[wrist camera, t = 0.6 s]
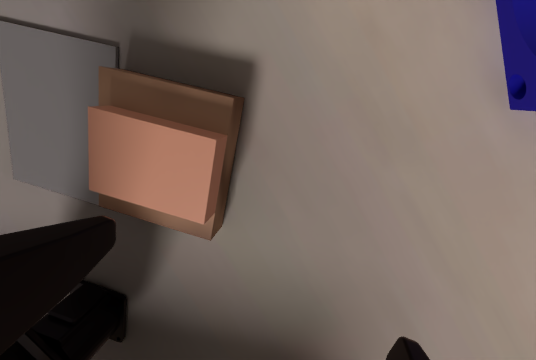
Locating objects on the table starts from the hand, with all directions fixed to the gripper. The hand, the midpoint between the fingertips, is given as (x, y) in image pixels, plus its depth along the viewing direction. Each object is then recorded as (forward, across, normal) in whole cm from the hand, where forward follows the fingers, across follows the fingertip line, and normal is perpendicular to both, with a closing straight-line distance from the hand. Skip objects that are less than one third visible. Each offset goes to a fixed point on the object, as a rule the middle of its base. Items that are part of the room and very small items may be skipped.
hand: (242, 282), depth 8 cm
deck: (+13, +10, +3) cm, 17 cm away
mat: (+12, +21, +3) cm, 25 cm away
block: (+10, +10, +2) cm, 14 cm away
